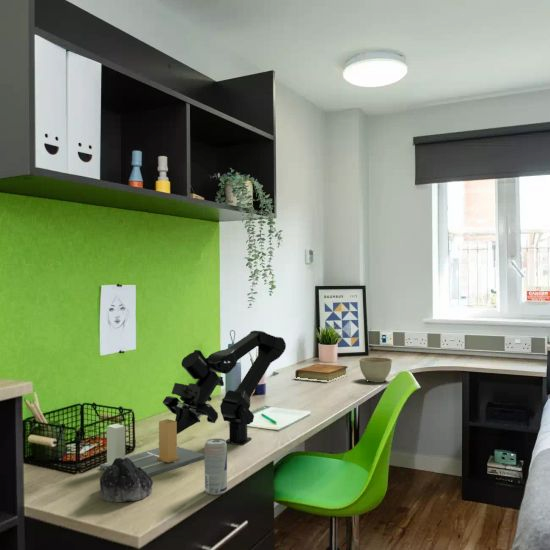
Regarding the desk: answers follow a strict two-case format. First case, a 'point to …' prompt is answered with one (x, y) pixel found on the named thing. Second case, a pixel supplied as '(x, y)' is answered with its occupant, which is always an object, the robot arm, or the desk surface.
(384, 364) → the planter bowl
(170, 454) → the block
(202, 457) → the grey marked board
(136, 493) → the crystal cluster
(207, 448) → the energy drink
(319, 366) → the diary
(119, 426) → the cream fader
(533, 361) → the desk surface
